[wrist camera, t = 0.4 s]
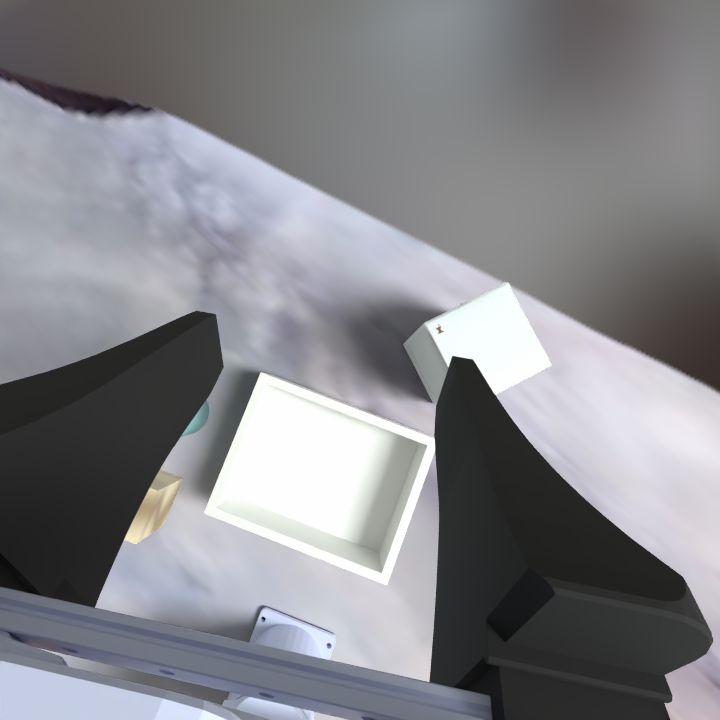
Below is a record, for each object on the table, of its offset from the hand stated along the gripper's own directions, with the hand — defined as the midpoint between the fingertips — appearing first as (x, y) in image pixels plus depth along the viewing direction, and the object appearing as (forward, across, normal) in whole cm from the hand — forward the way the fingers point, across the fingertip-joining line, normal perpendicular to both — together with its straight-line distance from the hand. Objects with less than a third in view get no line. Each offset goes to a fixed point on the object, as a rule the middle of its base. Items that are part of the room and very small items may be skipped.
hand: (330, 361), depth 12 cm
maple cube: (+11, +19, +30) cm, 37 cm away
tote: (+15, +2, +26) cm, 30 cm away
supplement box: (+25, -8, +17) cm, 31 cm away
